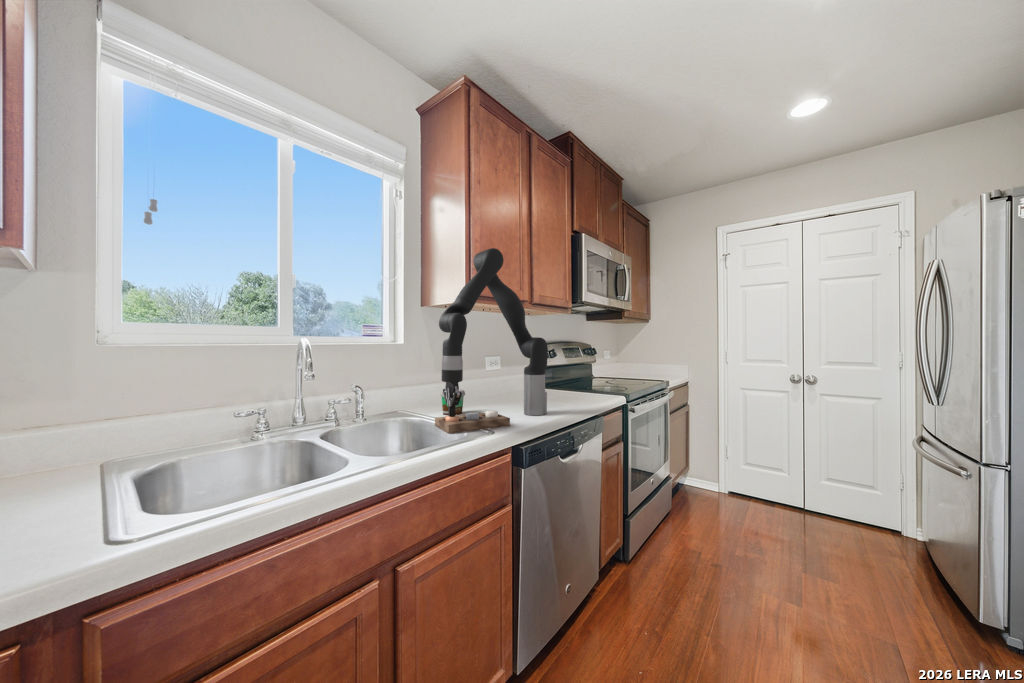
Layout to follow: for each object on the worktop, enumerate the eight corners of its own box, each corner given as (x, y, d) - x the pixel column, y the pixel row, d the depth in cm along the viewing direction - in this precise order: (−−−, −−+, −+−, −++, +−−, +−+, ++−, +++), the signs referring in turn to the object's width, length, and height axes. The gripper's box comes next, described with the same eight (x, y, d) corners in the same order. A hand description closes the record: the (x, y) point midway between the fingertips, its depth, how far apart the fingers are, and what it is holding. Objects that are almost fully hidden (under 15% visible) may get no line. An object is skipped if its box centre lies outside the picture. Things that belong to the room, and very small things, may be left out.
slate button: (475, 420, 145) (475, 412, 145) (481, 422, 141) (481, 414, 141) (463, 421, 142) (463, 413, 142) (469, 423, 138) (469, 415, 138)
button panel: (492, 419, 154) (492, 411, 154) (509, 426, 142) (509, 418, 142) (434, 425, 142) (435, 417, 142) (448, 433, 129) (448, 424, 129)
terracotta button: (455, 422, 141) (455, 414, 141) (460, 425, 137) (460, 416, 137) (443, 424, 138) (443, 415, 138) (448, 426, 134) (448, 418, 134)
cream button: (494, 418, 149) (494, 410, 149) (500, 420, 145) (500, 412, 145) (483, 419, 146) (483, 411, 146) (488, 421, 142) (488, 413, 142)
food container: (450, 417, 158) (450, 392, 158) (440, 415, 162) (440, 391, 162) (471, 412, 168) (471, 390, 168) (461, 411, 172) (461, 388, 172)
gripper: (469, 369, 134) (468, 418, 134) (455, 367, 145) (454, 412, 145) (448, 369, 130) (448, 420, 130) (436, 367, 141) (435, 414, 141)
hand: (451, 416), depth 137 cm, fingers closed
